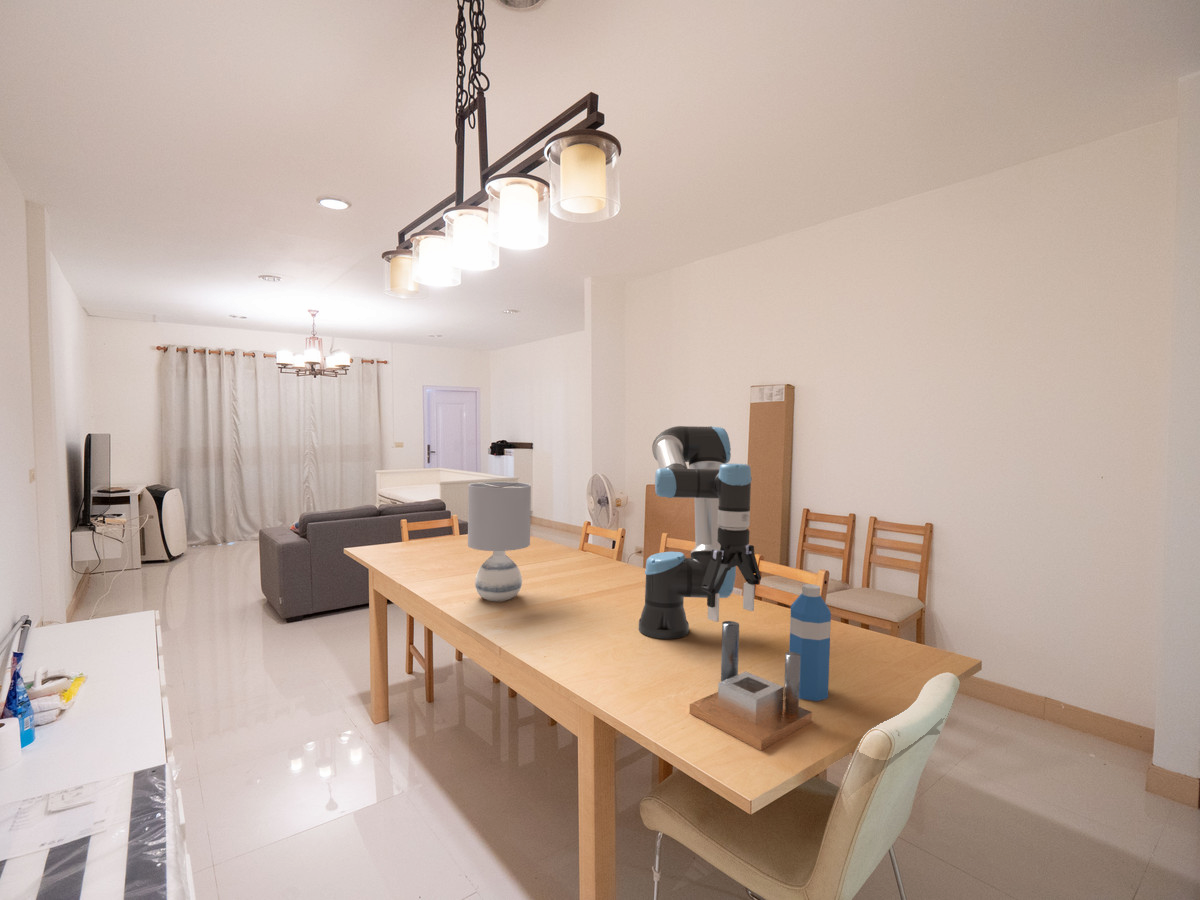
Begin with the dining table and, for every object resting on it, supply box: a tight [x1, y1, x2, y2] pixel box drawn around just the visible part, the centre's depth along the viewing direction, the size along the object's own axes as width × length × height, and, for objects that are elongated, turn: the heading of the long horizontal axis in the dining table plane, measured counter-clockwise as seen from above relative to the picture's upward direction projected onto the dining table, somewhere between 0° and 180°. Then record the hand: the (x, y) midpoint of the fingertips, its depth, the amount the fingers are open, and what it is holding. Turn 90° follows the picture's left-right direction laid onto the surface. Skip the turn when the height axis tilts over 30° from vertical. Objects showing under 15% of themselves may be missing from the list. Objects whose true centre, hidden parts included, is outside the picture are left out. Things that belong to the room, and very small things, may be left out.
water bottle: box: [788, 583, 832, 702], centre depth 133 cm, size 9×9×25 cm
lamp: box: [467, 481, 532, 603], centre depth 202 cm, size 22×22×40 cm
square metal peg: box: [720, 620, 740, 682], centre depth 139 cm, size 4×4×14 cm
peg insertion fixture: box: [688, 651, 813, 751], centre depth 121 cm, size 18×18×14 cm
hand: (731, 615), depth 138 cm, fingers open, 13 cm apart
